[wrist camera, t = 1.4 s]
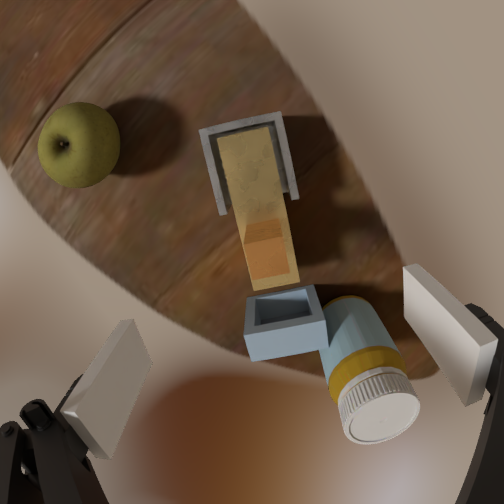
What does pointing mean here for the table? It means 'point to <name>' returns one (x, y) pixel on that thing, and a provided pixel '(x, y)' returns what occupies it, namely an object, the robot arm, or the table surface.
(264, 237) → the yellow orange l-shaped block
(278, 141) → the sleeve
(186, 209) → the table surface
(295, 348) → the socket block
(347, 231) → the table surface
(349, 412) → the bottle
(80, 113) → the apple
